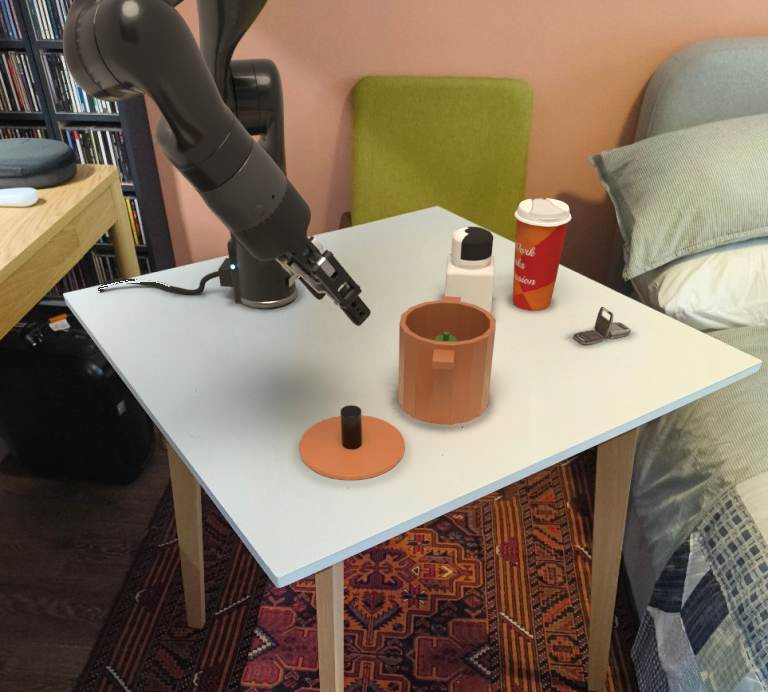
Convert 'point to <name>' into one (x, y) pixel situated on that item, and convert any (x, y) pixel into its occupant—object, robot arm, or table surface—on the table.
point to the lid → (351, 446)
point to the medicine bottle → (471, 267)
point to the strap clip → (603, 329)
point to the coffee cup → (538, 251)
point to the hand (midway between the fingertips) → (343, 305)
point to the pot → (445, 361)
